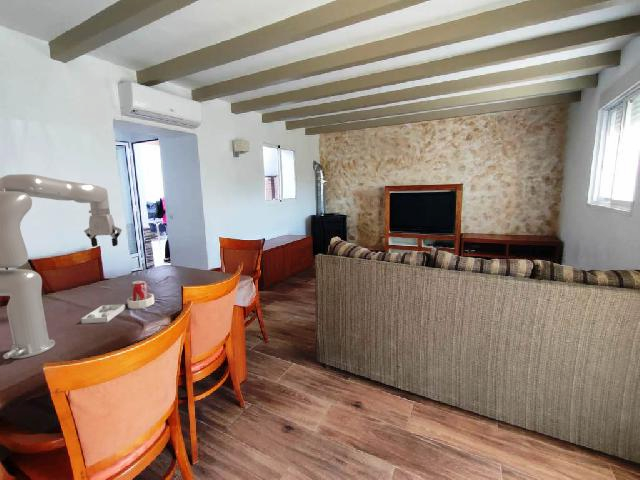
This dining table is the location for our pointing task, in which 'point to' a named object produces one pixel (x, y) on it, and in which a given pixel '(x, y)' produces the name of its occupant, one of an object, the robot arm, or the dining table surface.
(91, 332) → the dining table surface
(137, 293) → the soda can
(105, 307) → the pebble
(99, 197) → the robot arm
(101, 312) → the parts tray
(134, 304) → the bowl
